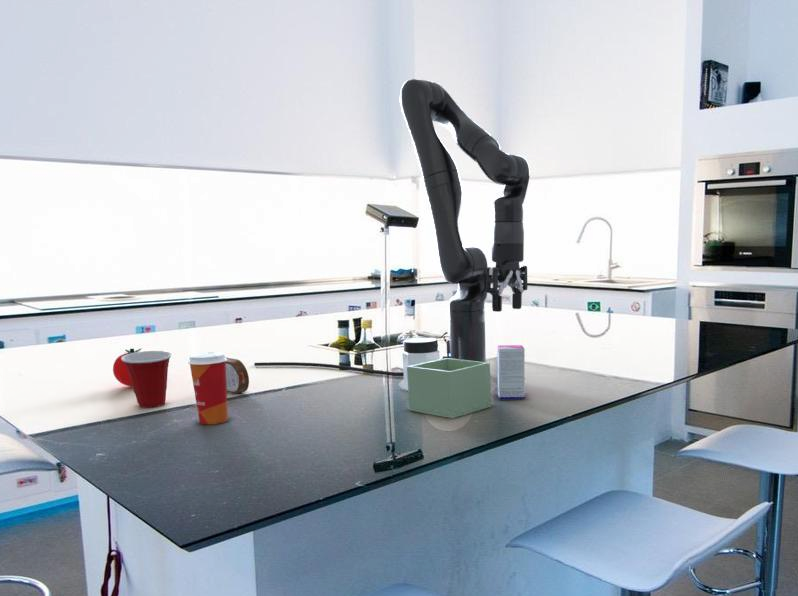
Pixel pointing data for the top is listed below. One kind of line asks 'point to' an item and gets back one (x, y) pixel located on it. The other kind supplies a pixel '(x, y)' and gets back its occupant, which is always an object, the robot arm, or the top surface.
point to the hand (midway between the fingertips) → (507, 310)
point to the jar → (418, 353)
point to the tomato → (122, 369)
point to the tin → (236, 376)
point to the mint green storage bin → (449, 387)
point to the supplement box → (510, 372)
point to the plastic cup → (148, 376)
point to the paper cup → (210, 386)
